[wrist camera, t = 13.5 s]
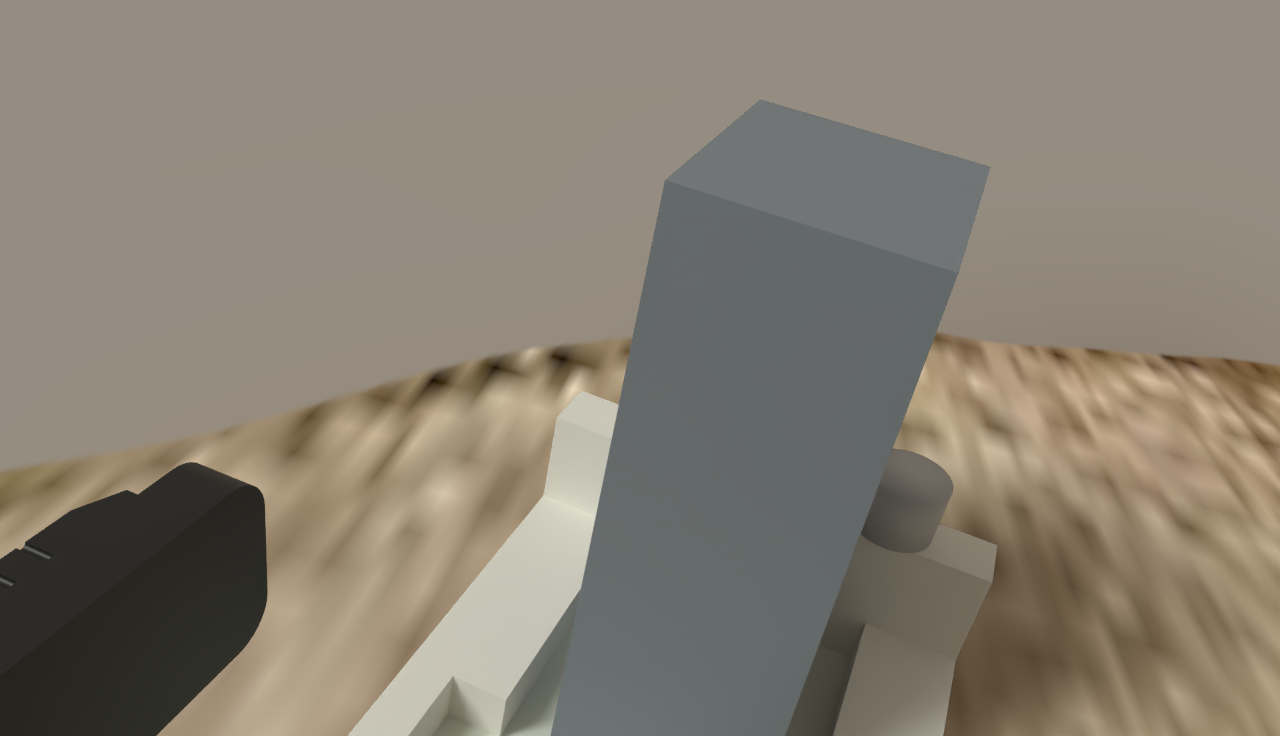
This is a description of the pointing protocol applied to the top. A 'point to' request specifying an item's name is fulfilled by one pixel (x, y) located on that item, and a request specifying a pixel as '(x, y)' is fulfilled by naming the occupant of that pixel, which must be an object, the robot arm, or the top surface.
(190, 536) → the robot arm
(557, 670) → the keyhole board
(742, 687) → the tall grey pillar
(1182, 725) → the top surface
